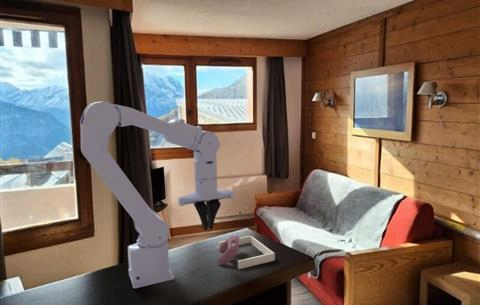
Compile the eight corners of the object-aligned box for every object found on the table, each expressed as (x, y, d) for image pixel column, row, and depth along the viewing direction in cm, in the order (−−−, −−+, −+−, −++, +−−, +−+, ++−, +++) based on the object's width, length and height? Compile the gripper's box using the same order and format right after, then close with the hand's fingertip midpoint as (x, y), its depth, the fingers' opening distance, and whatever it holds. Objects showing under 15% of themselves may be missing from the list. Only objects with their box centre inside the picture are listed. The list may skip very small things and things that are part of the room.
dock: (238, 269, 86) (238, 261, 86) (218, 248, 99) (218, 241, 99) (274, 260, 91) (274, 253, 91) (250, 241, 104) (250, 235, 103)
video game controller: (231, 271, 88) (242, 248, 88) (215, 264, 88) (226, 241, 87) (232, 255, 98) (243, 234, 97) (218, 248, 98) (228, 227, 97)
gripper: (225, 172, 94) (227, 219, 96) (174, 177, 88) (176, 228, 90) (236, 176, 88) (237, 227, 90) (181, 183, 82) (183, 237, 83)
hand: (207, 228), depth 89 cm, fingers closed
